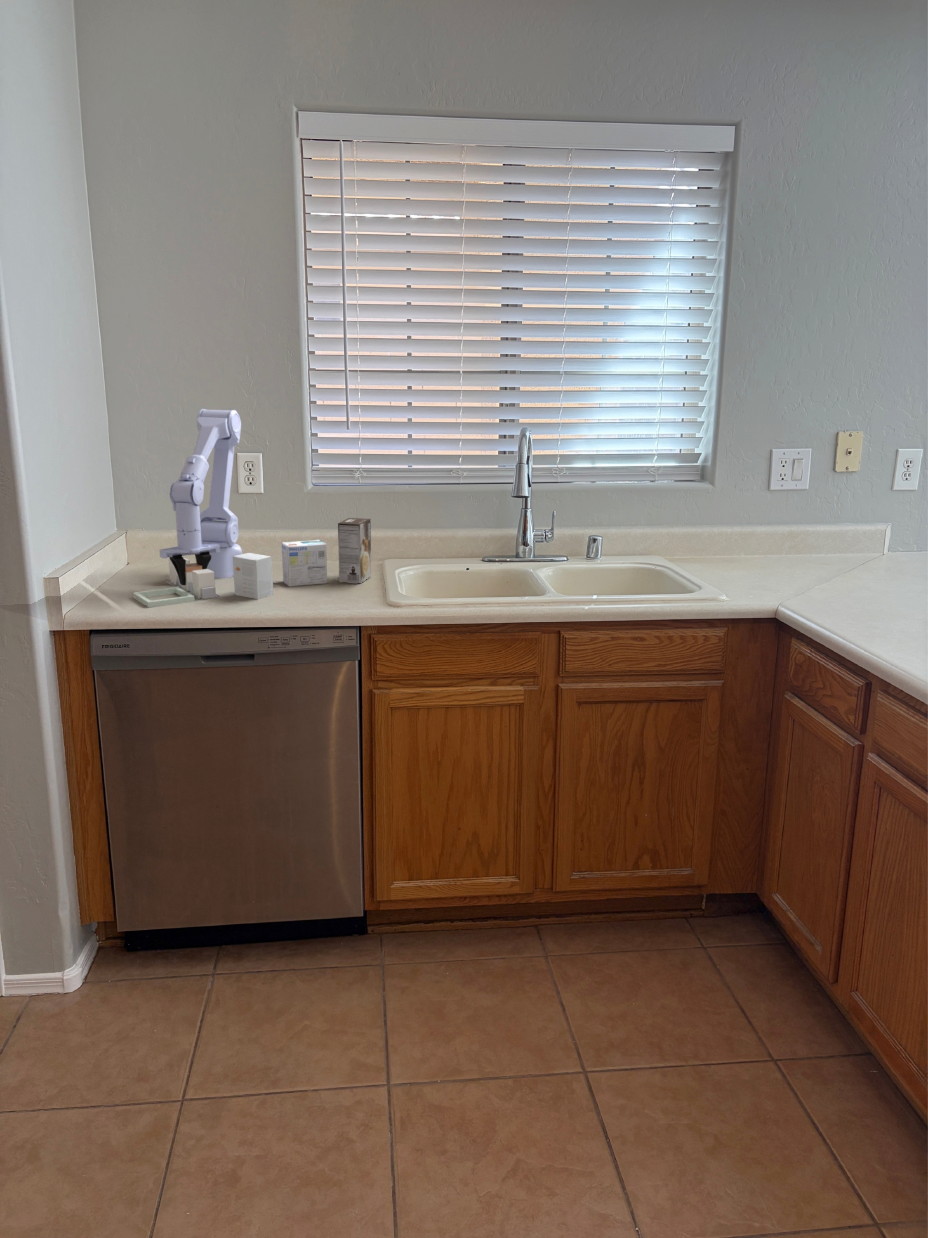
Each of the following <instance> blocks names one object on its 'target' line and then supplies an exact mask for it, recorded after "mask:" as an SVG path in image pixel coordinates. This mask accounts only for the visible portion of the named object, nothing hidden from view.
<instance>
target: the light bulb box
mask: <svg viewBox="0 0 928 1238" xmlns="http://www.w3.org/2000/svg"><path fill="white" fill-rule="evenodd" d="M281 557H282V558H281V560H282V561H281V564H282V582H283V583H284V584H285V585H287V586H288V588H289V587H299V586H309V585H319V584H320V585H323V584H327V583H328V572H327V571H328V570H327V569H328V565H327V563H328V562H327V560H328V559H327V543H326V542H323V541H322V540H320V539H314V540H298V541H297V540H296V541H283V542H281Z"/></svg>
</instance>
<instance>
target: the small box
mask: <svg viewBox="0 0 928 1238" xmlns="http://www.w3.org/2000/svg"><path fill="white" fill-rule="evenodd" d="M272 562H273V558H272V556H270V555H265V554H264V555H263V554H257V553H254V552H246V553H242V554H241V555H236V556H233V571H234V577H233V581H234V582H233V583H234V584H233V585H234V595H235V596H240V597H245V598H249V599H255V600H261V599H265V598H267V597H271V596H274V581H273V578H274V576H273V575H274V574H273V563H272Z"/></svg>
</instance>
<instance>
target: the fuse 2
mask: <svg viewBox="0 0 928 1238" xmlns="http://www.w3.org/2000/svg"><path fill="white" fill-rule="evenodd" d="M192 579H193V595H195V596H197V597H198V598H202V595H201V588H206V587H215V588H216V579H215V578H214V572H213V571H211V570H209V569H203V570H194V571H192Z"/></svg>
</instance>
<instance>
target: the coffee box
mask: <svg viewBox="0 0 928 1238" xmlns="http://www.w3.org/2000/svg"><path fill="white" fill-rule="evenodd" d="M337 530H338V532H337V533H338V534H337V536H338V538H337V539H338V541H337V542H338V543H337V544H338V548H337V549H338V579H339V580H338V581H339V583H342V582H349V583H348V584H357V583H361V584H363V583H364V582H365V581H366V579H367V580H368V579H370V578H371V577H372V534H371V533H372V532H371V530H372V529H371V518H363V517H362V518H359V517H348V518H346V519H344V520H341V521H340V522H338V523H337ZM362 582H363V583H362Z"/></svg>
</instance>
